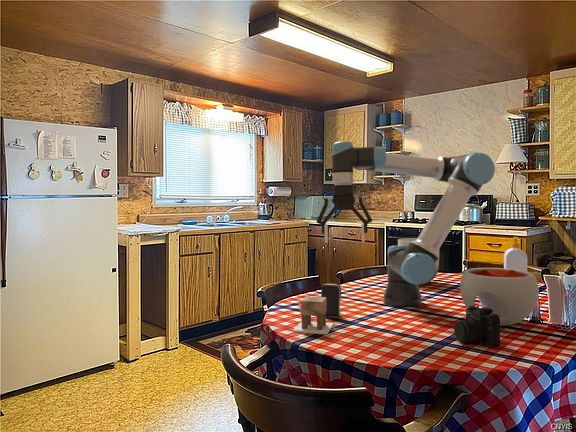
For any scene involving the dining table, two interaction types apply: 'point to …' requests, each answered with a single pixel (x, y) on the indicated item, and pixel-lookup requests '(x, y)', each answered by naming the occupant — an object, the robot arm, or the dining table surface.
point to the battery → (332, 298)
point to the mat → (313, 328)
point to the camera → (479, 327)
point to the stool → (313, 311)
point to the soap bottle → (515, 257)
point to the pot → (501, 292)
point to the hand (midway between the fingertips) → (344, 242)
